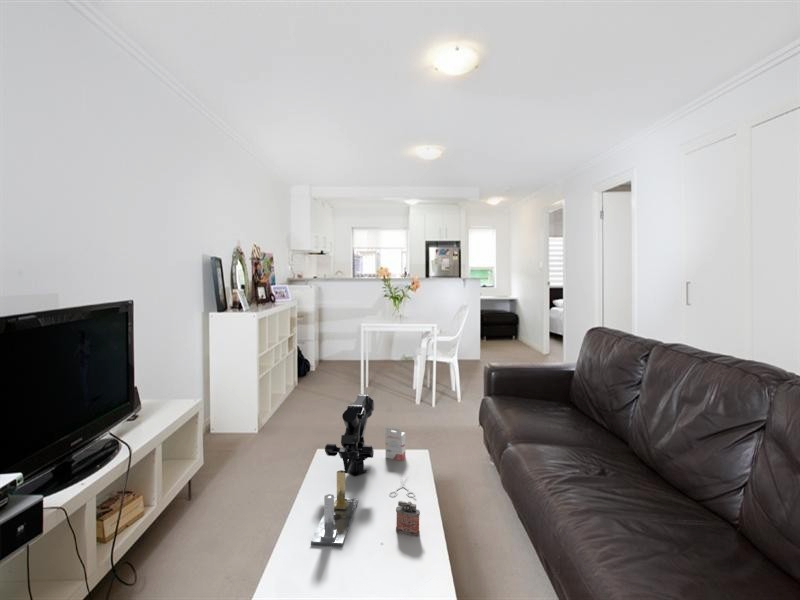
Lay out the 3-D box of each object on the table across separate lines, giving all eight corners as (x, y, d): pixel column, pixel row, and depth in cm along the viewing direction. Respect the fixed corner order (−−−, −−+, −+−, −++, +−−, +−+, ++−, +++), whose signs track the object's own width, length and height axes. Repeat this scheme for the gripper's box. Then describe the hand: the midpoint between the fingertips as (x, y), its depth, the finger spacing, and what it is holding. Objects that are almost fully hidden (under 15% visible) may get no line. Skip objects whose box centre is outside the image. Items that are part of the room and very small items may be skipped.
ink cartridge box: (405, 456, 183) (406, 426, 182) (401, 461, 178) (402, 429, 178) (389, 453, 186) (389, 423, 186) (385, 457, 182) (385, 427, 181)
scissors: (388, 498, 147) (392, 472, 167) (388, 500, 147) (392, 474, 167) (416, 499, 146) (416, 473, 166) (416, 501, 146) (416, 474, 166)
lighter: (420, 531, 128) (421, 502, 127) (417, 538, 124) (418, 507, 124) (397, 526, 130) (398, 497, 130) (394, 532, 127) (394, 503, 127)
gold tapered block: (336, 502, 141) (336, 469, 141) (348, 503, 141) (348, 470, 140) (333, 508, 138) (333, 474, 137) (345, 509, 137) (345, 475, 137)
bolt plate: (331, 500, 146) (331, 463, 145) (357, 501, 145) (357, 465, 144) (310, 545, 121) (310, 501, 120) (342, 547, 120) (342, 502, 119)
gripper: (325, 423, 153) (317, 464, 142) (372, 425, 151) (367, 466, 141) (331, 435, 161) (323, 474, 150) (375, 437, 159) (371, 477, 149)
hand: (346, 473), depth 147 cm, fingers closed
